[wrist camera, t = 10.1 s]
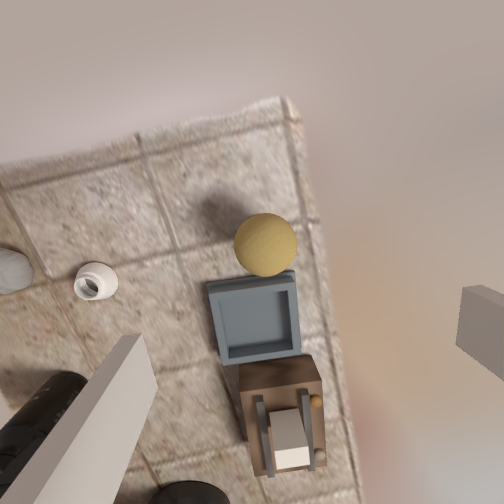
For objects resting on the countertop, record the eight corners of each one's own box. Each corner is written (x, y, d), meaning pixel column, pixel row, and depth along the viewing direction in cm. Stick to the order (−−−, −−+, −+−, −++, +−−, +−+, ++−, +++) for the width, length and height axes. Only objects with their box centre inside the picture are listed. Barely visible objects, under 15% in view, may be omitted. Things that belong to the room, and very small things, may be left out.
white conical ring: (71, 274, 32) (98, 303, 34) (55, 283, 29) (85, 314, 31) (101, 254, 32) (127, 284, 33) (88, 261, 29) (116, 294, 30)
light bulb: (224, 230, 32) (218, 251, 22) (261, 195, 31) (272, 202, 21) (257, 264, 33) (265, 298, 24) (294, 232, 32) (317, 254, 23)
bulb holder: (220, 356, 37) (219, 369, 34) (206, 282, 33) (203, 291, 31) (300, 345, 37) (304, 356, 34) (293, 270, 34) (298, 277, 31)
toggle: (271, 429, 34) (276, 469, 29) (269, 412, 33) (274, 451, 29) (299, 424, 34) (310, 464, 30) (298, 408, 33) (308, 446, 29)
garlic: (-16, 258, 31) (-65, 273, 26) (14, 233, 30) (-31, 244, 25) (23, 293, 33) (-16, 313, 28) (52, 270, 32) (18, 286, 27)
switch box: (252, 442, 42) (255, 484, 36) (239, 365, 37) (239, 398, 32) (316, 433, 42) (329, 473, 36) (311, 354, 38) (324, 386, 32)
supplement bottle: (50, 365, 36) (-40, 453, 24) (98, 377, 37) (34, 466, 25) (43, 401, 37) (-44, 500, 26) (90, 411, 38) (26, 511, 27)
